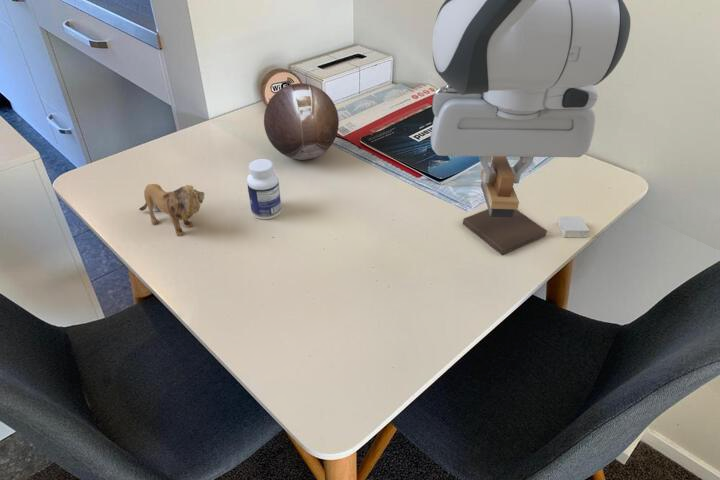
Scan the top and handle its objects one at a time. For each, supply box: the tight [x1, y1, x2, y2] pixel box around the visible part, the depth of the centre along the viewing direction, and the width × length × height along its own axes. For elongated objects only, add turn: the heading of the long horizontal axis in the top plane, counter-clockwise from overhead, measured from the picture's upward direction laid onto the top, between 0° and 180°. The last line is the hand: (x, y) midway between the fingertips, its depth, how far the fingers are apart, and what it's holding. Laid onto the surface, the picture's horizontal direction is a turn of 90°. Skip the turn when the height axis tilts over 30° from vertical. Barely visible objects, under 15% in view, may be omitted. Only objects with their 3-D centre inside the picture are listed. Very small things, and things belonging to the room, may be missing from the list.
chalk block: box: [556, 216, 590, 238], centre depth 90 cm, size 4×4×2 cm
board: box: [462, 208, 548, 256], centre depth 90 cm, size 10×10×1 cm
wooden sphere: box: [263, 82, 340, 161], centre depth 106 cm, size 15×15×15 cm
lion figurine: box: [138, 183, 205, 237], centre depth 88 cm, size 15×5×9 cm, turn 65°
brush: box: [479, 156, 520, 218], centre depth 72 cm, size 8×4×6 cm, turn 179°
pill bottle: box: [246, 158, 282, 220], centre depth 91 cm, size 5×5×10 cm
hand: (500, 181), depth 72 cm, fingers closed on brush, 2 cm apart
